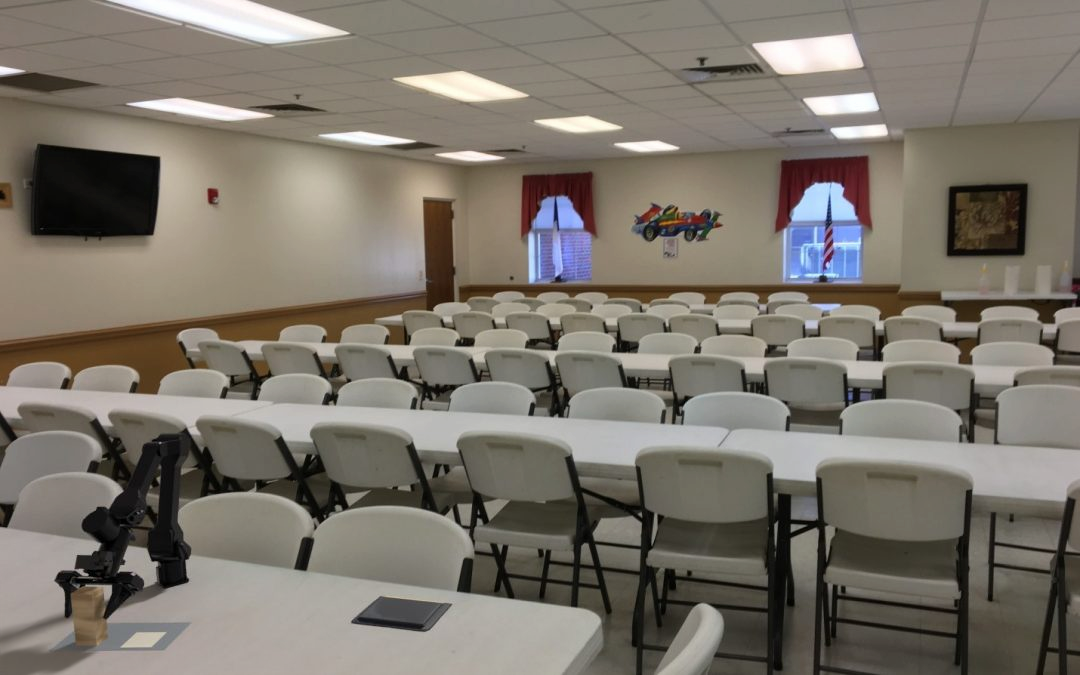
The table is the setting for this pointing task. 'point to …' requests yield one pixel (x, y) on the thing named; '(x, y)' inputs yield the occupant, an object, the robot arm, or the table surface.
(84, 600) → the wooden block
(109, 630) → the rubber mat
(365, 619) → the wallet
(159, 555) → the robot arm
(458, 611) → the table surface
